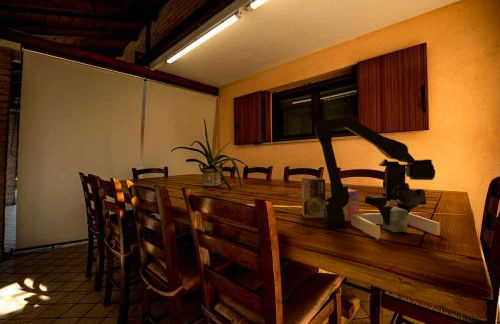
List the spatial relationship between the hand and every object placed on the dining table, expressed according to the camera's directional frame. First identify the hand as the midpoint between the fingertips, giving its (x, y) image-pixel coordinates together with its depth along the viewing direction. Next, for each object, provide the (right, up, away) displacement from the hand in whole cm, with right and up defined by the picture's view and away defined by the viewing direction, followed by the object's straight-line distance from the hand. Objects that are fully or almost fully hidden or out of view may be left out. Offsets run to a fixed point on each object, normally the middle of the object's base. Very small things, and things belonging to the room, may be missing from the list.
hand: (394, 224), depth 77 cm
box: (-10, -2, +17) cm, 20 cm away
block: (0, -2, 0) cm, 2 cm away
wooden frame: (0, -2, +2) cm, 3 cm away
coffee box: (-22, -2, +20) cm, 30 cm away
